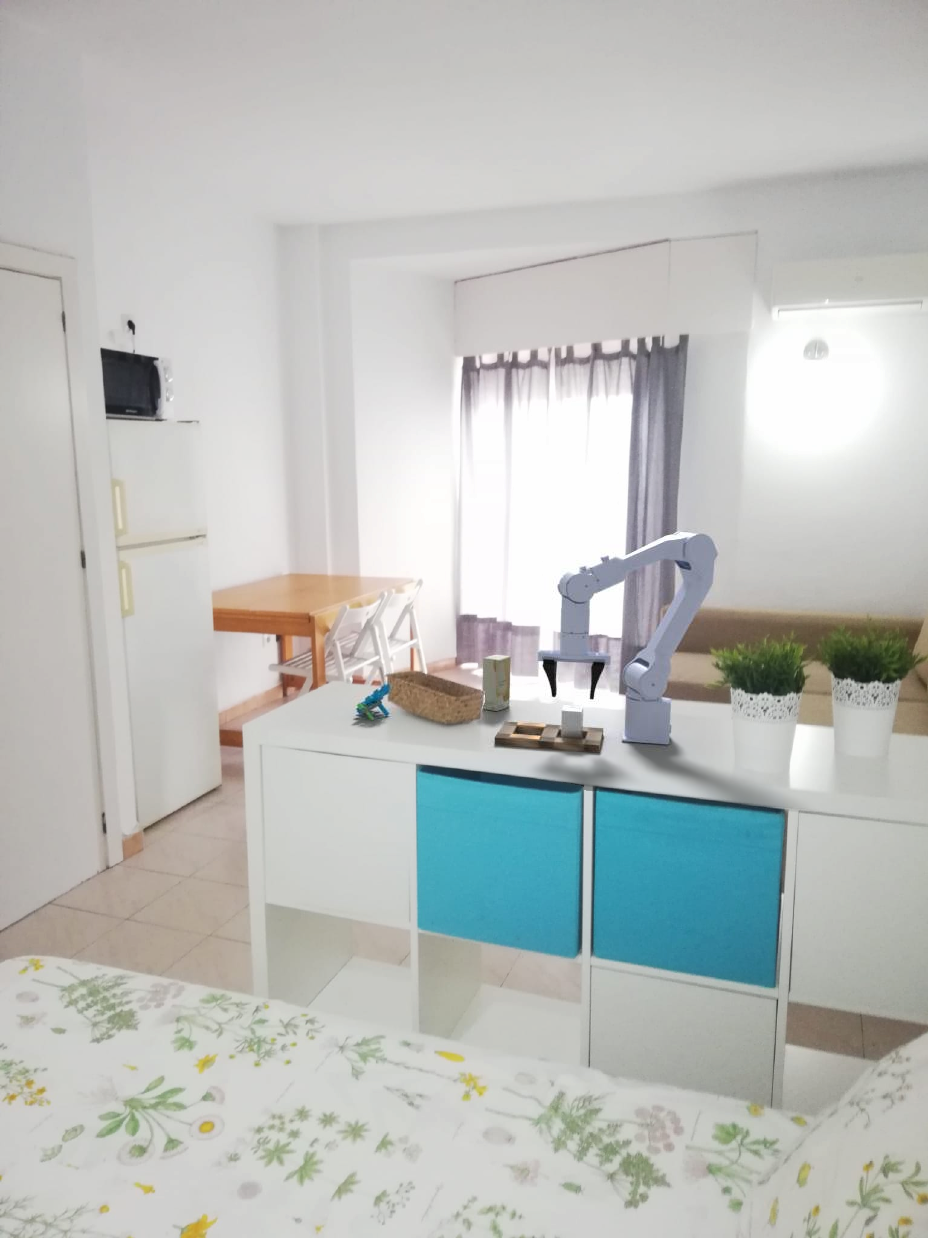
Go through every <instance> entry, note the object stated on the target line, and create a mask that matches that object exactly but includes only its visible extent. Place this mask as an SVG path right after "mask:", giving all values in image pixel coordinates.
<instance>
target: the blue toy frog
mask: <svg viewBox="0 0 928 1238" xmlns="http://www.w3.org/2000/svg"><path fill="white" fill-rule="evenodd" d="M390 683H391V682H388V683H387V684H386V683H385V684H383V685H382V686H381V687H380V689H378V688H376V689H375V690H373V691H372V694H370V695H367V696H366V697H365V699H364V701H361V702H359V703H358V704H356V707H357V708H355V710H356V712H357V713H358V715H360V714H362V713H363V714H366V715H367V716H368V718H369V719H370V721H374V720H375V718H374V717H373V715H372V714H371V713H370V712H371V711H372V710H374V709H376V708H378V709H380V711H381V712H382V713H383V714H384V716H385V717H387V715H388V716H389V715H390V712H389V711H388V710H387V708H386V707H385V706H384V704H383V702H382V700H383V699H385V696H386V695H389V693H390V692H389V691H391V690H390Z"/></svg>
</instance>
